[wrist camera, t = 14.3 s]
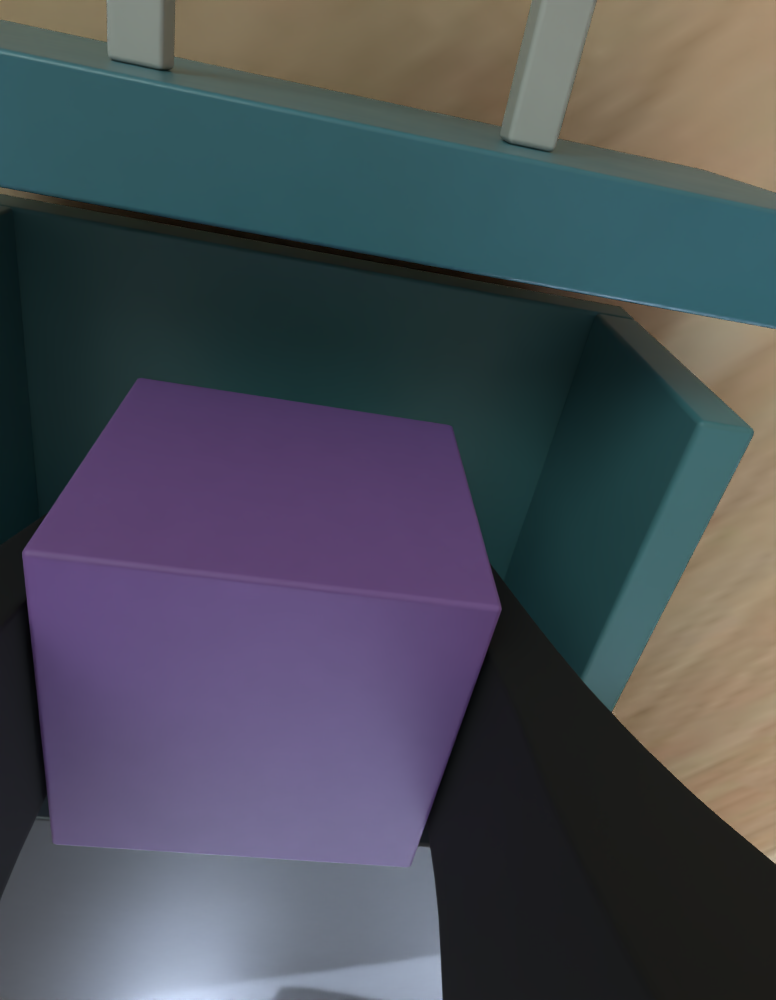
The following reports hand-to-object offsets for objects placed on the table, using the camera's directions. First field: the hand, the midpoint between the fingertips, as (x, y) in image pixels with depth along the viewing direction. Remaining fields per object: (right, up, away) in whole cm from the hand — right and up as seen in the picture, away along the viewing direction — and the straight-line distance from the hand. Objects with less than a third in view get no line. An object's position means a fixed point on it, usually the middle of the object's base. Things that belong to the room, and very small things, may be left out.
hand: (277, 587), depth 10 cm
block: (0, +1, +1) cm, 1 cm away
